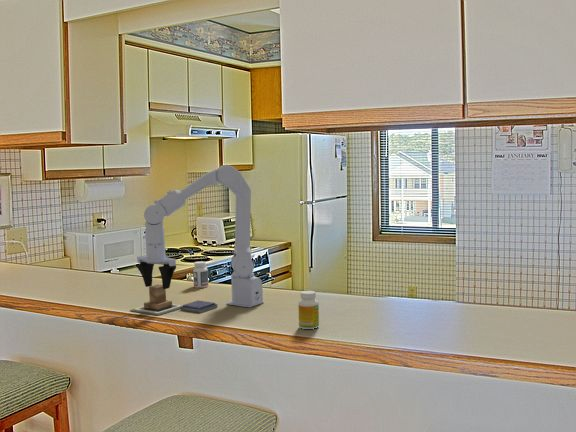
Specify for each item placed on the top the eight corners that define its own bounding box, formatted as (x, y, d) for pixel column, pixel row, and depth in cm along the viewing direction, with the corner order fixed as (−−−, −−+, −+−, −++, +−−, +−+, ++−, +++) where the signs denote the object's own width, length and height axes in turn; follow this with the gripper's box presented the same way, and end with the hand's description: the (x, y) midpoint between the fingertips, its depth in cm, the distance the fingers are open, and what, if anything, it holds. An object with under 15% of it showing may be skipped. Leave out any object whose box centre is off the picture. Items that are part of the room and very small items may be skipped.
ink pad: (217, 307, 196) (217, 302, 196) (200, 313, 190) (200, 308, 190) (198, 304, 201) (197, 299, 201) (180, 310, 194) (180, 305, 194)
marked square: (185, 307, 198) (185, 305, 198) (158, 315, 188) (158, 313, 188) (158, 303, 204) (158, 301, 204) (130, 311, 194) (130, 309, 194)
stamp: (172, 307, 197) (171, 285, 196) (158, 311, 192) (157, 288, 191) (158, 305, 200) (157, 283, 199) (144, 309, 195) (143, 286, 194)
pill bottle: (209, 285, 231) (209, 261, 230) (206, 288, 226) (205, 263, 225) (195, 285, 232) (194, 261, 231) (192, 288, 227) (191, 263, 226)
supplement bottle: (317, 330, 168) (316, 294, 167) (297, 330, 169) (296, 294, 168) (320, 325, 173) (319, 290, 172) (300, 324, 174) (299, 289, 173)
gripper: (129, 244, 195) (131, 287, 196) (163, 246, 187) (165, 292, 188) (145, 241, 201) (148, 283, 202) (179, 243, 193) (181, 287, 194)
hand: (157, 287), depth 195 cm, fingers open, 7 cm apart
